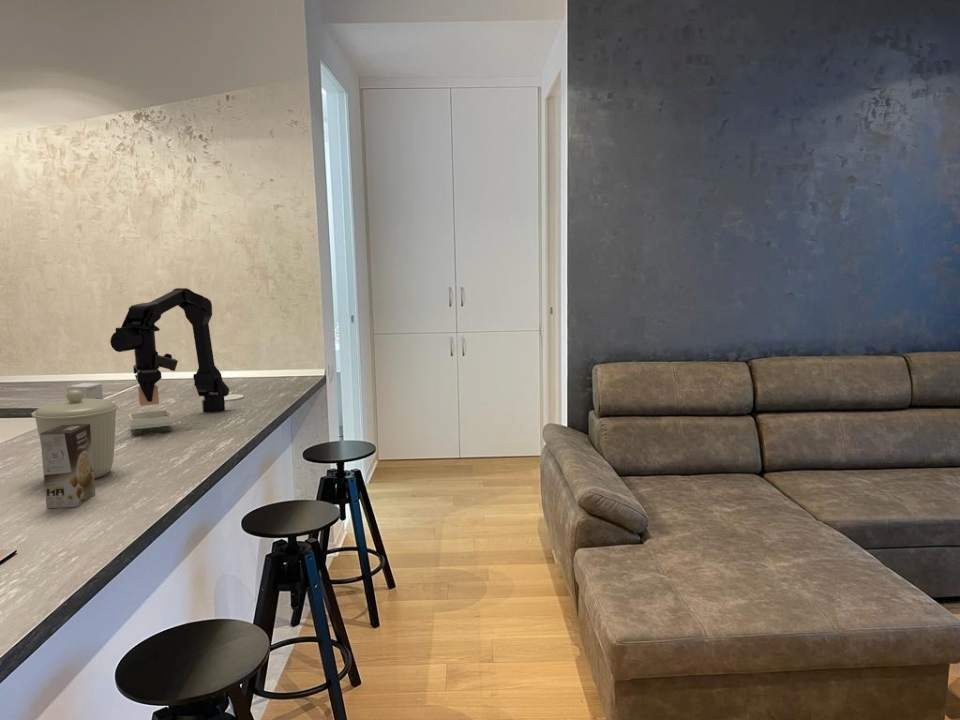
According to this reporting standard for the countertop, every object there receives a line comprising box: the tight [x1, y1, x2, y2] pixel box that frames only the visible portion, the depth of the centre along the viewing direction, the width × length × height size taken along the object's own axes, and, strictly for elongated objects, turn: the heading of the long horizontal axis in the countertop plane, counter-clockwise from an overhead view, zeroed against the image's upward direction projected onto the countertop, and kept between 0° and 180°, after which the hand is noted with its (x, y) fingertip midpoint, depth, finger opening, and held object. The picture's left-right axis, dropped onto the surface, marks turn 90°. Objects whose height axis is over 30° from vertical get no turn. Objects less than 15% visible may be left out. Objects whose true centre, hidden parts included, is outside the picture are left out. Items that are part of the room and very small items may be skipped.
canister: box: [31, 390, 119, 480], centre depth 173 cm, size 18×18×21 cm
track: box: [130, 422, 209, 437], centre depth 219 cm, size 21×12×1 cm, turn 119°
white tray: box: [128, 409, 174, 437], centre depth 216 cm, size 11×11×5 cm
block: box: [137, 384, 160, 407], centre depth 215 cm, size 5×5×5 cm
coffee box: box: [40, 424, 96, 509], centre depth 155 cm, size 9×6×16 cm
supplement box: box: [66, 382, 104, 399], centre depth 232 cm, size 7×7×13 cm
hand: (149, 400), depth 215 cm, fingers closed on block, 5 cm apart
